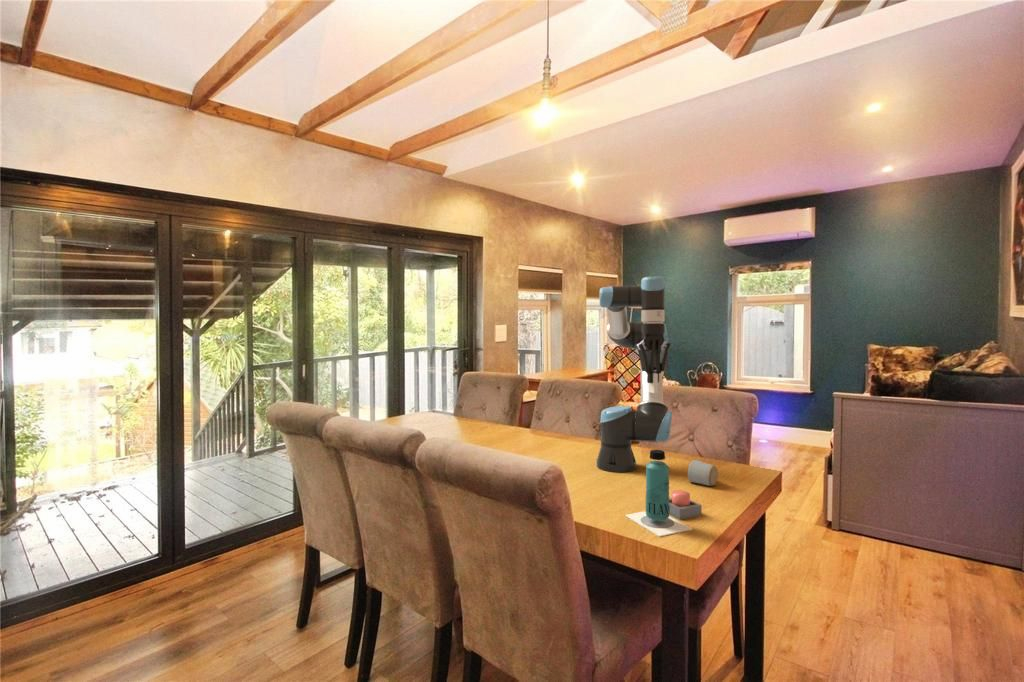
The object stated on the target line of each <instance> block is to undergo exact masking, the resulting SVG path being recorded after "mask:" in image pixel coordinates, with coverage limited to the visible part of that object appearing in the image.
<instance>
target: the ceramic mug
mask: <svg viewBox="0 0 1024 682" xmlns="http://www.w3.org/2000/svg"><path fill="white" fill-rule="evenodd" d="M718 477H719V470H718V468H717V466H716V465H713V464H712V463H711V464H710V463H707V462H704V461H700V460H696V459H692V460H691V461H690V463H689V464H688V468H687V479H688V481H689V482H691V483H694V484H698V485H704V486H708V487H713V486H715V485H716V484H717V481H718Z"/></svg>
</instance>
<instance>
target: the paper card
mask: <svg viewBox="0 0 1024 682" xmlns="http://www.w3.org/2000/svg"><path fill="white" fill-rule="evenodd" d="M624 517H626V518H627V519H629V520H631V521H632V522H634V523H635V524H638V525H639V526H640V527H642V528H643V529H645V530H647V531H648V532H650V533H652V534H653V535H655V536H657V537H658V538H661V537H666V536H669V535H670V536H671V535H675V534H679V533H684V532H689V531H692V530H693V528H692V527H690V526H688V525H686V524H684V523H682V522H681V521H680V520H678V519H676V518H673V517H672V516H671V515H669V517H668V519H666V520H662V521H659V520H653V519H650V518H648V517H647V515H646V512H645V511H638V512H634V513H629V514H625V515H624Z"/></svg>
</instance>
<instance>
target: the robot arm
mask: <svg viewBox="0 0 1024 682" xmlns="http://www.w3.org/2000/svg"><path fill="white" fill-rule="evenodd" d="M640 283H641V284H640V285H626V286H623V285H621V286H617V285H616V286H612V285H611V286H610V285H609V286H604V287H601V288H600V289H599V295H598V296H599V307H601V308H606V313H607V314H606V315H607V322H608V324H607V327H606V332H607V335H608V337H609V339H610V341H612V342H613V343H614V344H616V345H617V346H620V347H621V348H624V349H634V350H635V349H636V352H637V354H638V356H639V357H638V358H639V361H640V362H639V363H640V371H639V372H640V403H639V404H638V405H637V407H636V410H632V406H629V405H616V406H611V407H607V408H604V409H602V410H601V413H600V448H599V452H598V454H597V455H598V456H597V458H596V467H597V468H598V469H600V470H603V471H606V472H611V473H613V472H614V473H626V472H631V471H632V472H633V471H634V470H636V468H637V460H636V458H635V455H634V451H633V449H632V442H646V443H648V442H649V443H667V442H668V441H669V440H670V437H671V426H672V417H673V412H672V411H670V410H669V409H668V406H667V405H666V404H665V403H664V389H663V388H664V384H663V381H664V380H663V372H664V371H665V368H666V363H667V357H668V352H669V350H670V347H671V343H670V342H669V335H668V328H667V325H666V324H665V317H666V316H665V288H666V287H665V286H666V285H665V278H664V276H644V277H643V278H641V282H640ZM635 307H637V308H638V307H639V308H640V307H641V310H640V311H641V312H640V315H641V316H640V317H641V319H640V321H628V311H627V308H635Z"/></svg>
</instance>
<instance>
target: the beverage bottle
mask: <svg viewBox="0 0 1024 682" xmlns="http://www.w3.org/2000/svg"><path fill="white" fill-rule="evenodd" d="M649 458H650V460H652V461H649V462H647V464H646V465H645V488H646V489H645V512H646V515H647V517H648V518H650V519H653V520H659V521H662V520H666V519H668V517H669V516H670V514H669V513H670V502H669V499H670V498H671V497H670V475H669V474H670V473H669V472H670V467H669V465H668V464H667V463H666V462H664V461H663V460H665V459H666V453H665V450H662V449H651V450H650V451H649Z"/></svg>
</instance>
